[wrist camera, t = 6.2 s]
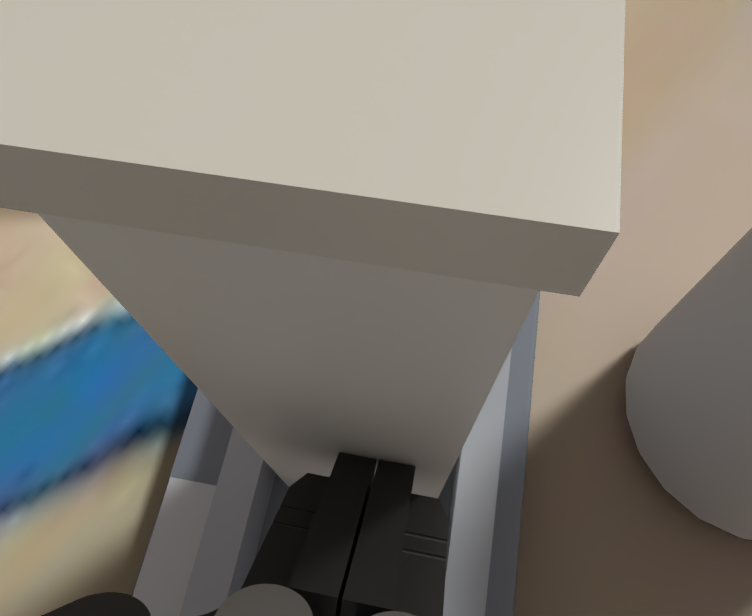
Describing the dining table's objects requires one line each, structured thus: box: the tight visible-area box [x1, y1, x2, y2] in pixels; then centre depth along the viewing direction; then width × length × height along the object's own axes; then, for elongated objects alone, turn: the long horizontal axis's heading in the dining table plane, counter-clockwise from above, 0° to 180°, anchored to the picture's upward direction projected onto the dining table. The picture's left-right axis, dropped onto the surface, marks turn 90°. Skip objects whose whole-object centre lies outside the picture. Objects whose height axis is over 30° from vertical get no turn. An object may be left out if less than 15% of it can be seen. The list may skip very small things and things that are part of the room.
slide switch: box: [132, 290, 540, 616], centre depth 18 cm, size 19×10×4 cm, turn 169°
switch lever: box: [0, 0, 625, 499], centre depth 11 cm, size 3×4×15 cm
